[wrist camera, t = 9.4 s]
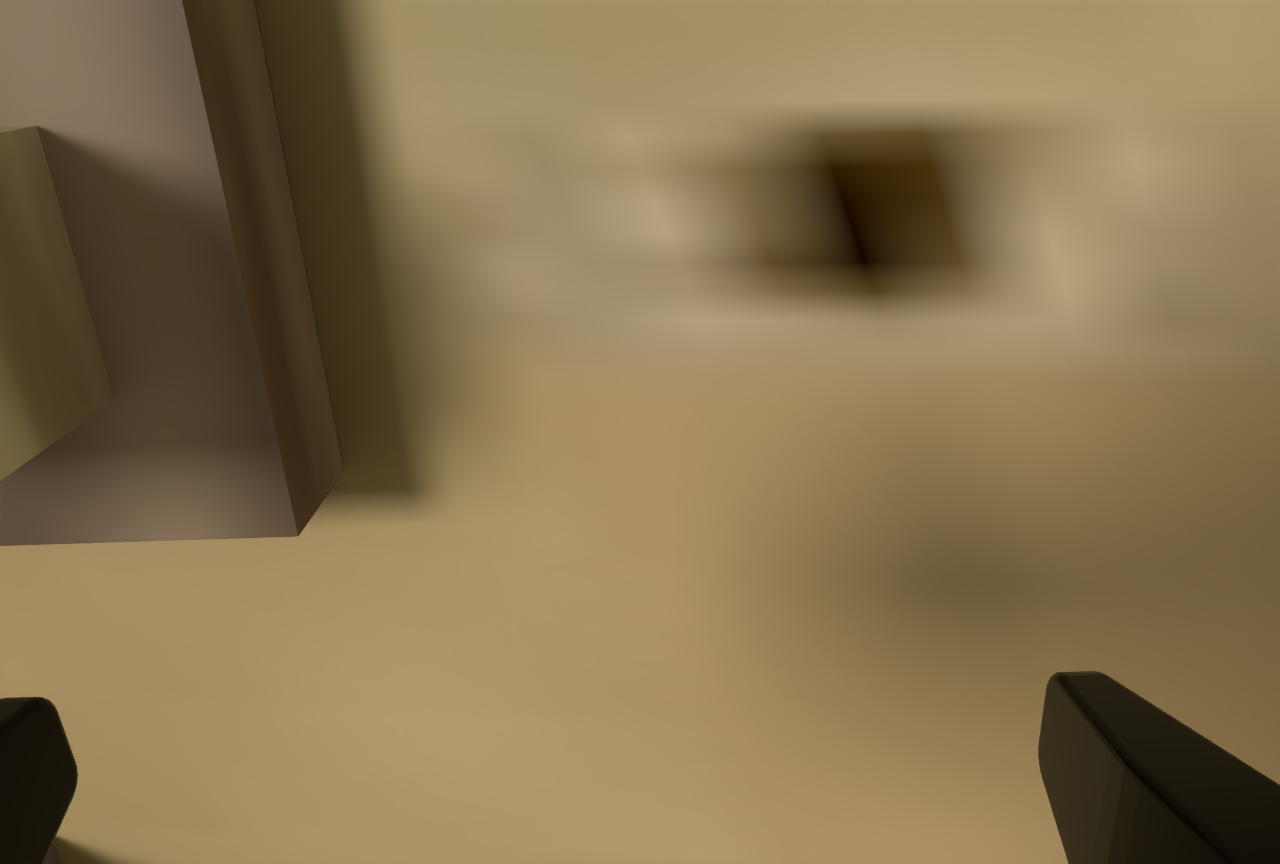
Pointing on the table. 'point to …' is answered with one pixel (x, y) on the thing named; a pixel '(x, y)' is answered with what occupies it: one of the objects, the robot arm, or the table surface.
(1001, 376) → the table surface
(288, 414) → the pedestal
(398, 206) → the table surface
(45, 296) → the beige cube
